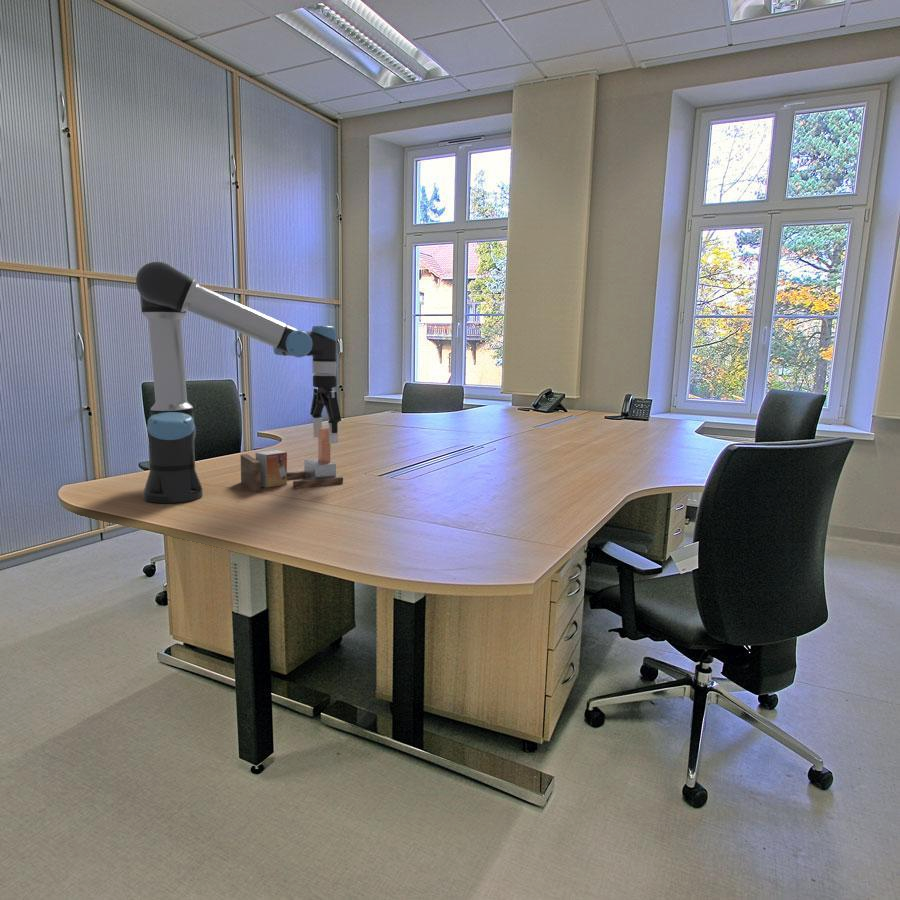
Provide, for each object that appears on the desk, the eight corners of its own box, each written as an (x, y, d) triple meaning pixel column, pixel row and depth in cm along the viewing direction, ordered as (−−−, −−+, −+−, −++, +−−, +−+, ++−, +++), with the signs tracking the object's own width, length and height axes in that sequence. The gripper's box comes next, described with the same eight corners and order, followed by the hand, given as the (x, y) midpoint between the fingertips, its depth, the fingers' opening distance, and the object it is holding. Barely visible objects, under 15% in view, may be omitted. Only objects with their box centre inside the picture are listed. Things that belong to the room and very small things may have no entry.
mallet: (315, 483, 192) (315, 431, 189) (304, 477, 200) (304, 427, 197) (335, 481, 196) (336, 430, 193) (324, 476, 204) (324, 426, 201)
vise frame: (254, 492, 179) (253, 462, 178) (241, 482, 191) (240, 454, 190) (343, 483, 195) (343, 456, 193) (325, 474, 207) (326, 449, 205)
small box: (266, 488, 185) (265, 454, 183) (255, 485, 188) (254, 452, 186) (287, 484, 191) (287, 451, 189) (276, 481, 194) (276, 449, 192)
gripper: (351, 376, 185) (351, 444, 189) (321, 372, 205) (321, 434, 209) (328, 377, 181) (329, 446, 185) (300, 372, 201) (301, 435, 205)
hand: (325, 440), depth 197 cm, fingers open, 13 cm apart
